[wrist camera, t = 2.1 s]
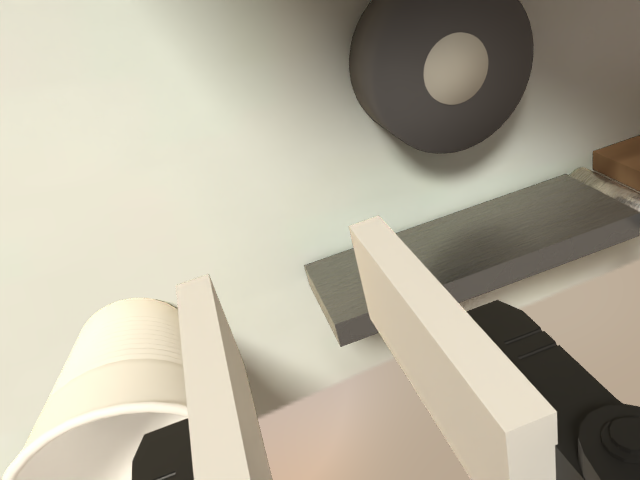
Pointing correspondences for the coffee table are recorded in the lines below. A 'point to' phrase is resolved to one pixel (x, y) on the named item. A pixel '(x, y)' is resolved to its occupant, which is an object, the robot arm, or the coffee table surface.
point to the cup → (108, 395)
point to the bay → (620, 162)
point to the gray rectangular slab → (491, 244)
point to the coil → (441, 68)
